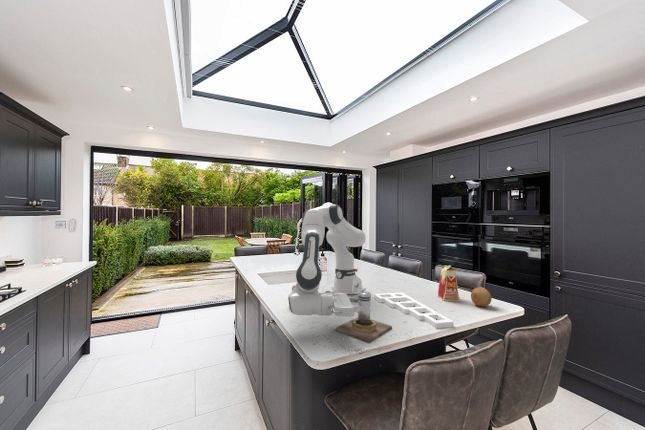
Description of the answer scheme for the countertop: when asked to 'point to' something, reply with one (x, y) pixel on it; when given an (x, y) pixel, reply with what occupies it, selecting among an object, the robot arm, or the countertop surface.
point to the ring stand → (364, 329)
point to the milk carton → (448, 285)
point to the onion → (481, 296)
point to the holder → (414, 309)
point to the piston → (364, 315)
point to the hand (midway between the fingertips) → (361, 303)
